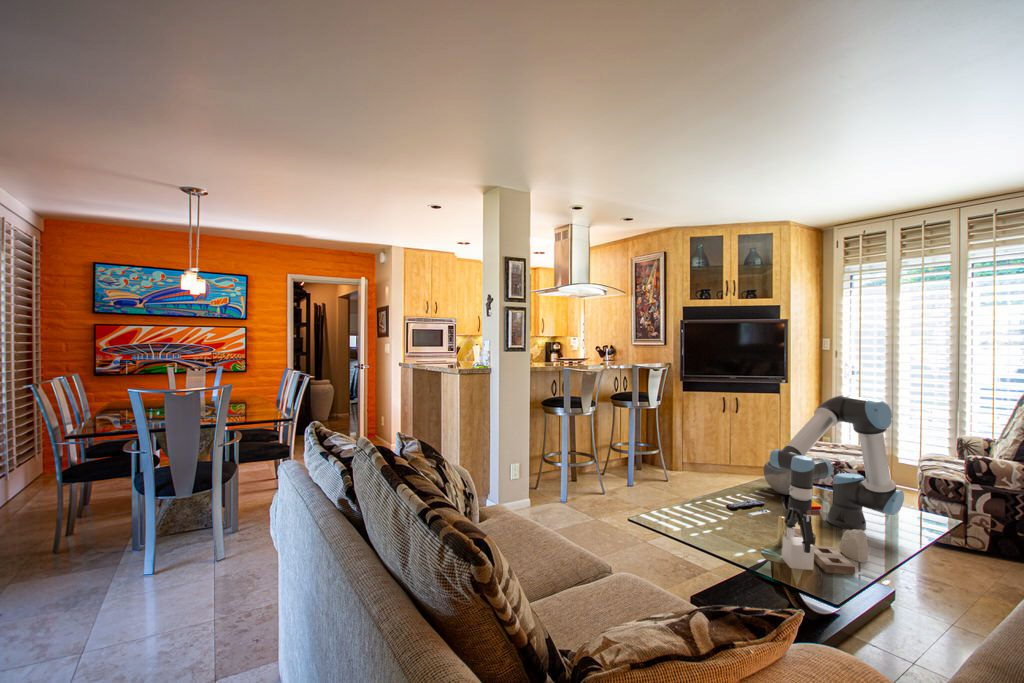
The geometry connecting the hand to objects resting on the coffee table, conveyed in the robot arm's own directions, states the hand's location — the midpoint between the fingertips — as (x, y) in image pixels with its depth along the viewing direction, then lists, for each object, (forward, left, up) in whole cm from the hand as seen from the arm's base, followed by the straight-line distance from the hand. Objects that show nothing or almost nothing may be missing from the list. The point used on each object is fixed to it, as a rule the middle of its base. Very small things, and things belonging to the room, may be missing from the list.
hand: (797, 551), depth 192 cm
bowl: (-30, -86, -5) cm, 91 cm away
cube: (0, 0, -5) cm, 5 cm away
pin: (0, -16, -5) cm, 17 cm away
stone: (-25, -10, -5) cm, 28 cm away
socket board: (-13, -3, -5) cm, 14 cm away
